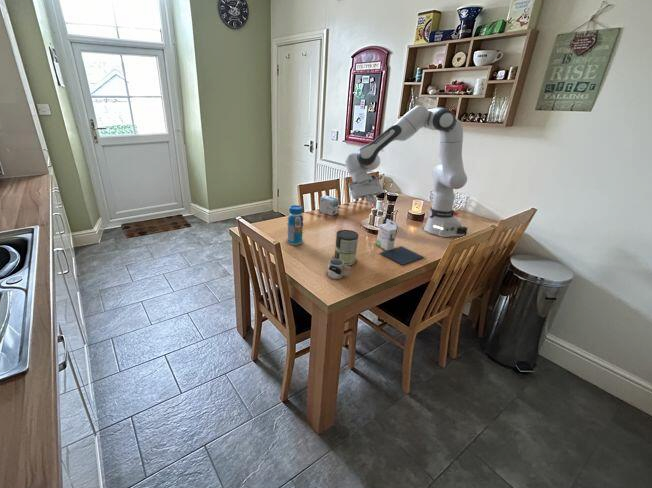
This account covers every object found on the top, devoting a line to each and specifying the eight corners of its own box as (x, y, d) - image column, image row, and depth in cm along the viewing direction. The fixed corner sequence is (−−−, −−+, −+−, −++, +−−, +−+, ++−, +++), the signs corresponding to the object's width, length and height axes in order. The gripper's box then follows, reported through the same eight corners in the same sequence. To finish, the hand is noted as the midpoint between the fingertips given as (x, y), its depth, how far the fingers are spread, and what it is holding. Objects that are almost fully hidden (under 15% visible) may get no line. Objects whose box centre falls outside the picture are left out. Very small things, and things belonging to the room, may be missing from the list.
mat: (380, 253, 167) (380, 253, 167) (401, 247, 175) (401, 246, 175) (402, 265, 156) (402, 264, 156) (423, 257, 164) (423, 257, 164)
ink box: (375, 244, 177) (379, 219, 171) (382, 243, 179) (386, 217, 173) (386, 251, 170) (390, 224, 164) (393, 249, 172) (398, 223, 166)
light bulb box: (337, 213, 221) (339, 198, 216) (331, 216, 216) (333, 200, 212) (325, 209, 227) (326, 194, 223) (319, 212, 223) (320, 196, 219)
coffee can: (329, 259, 160) (332, 233, 154) (342, 253, 166) (345, 227, 161) (347, 267, 153) (350, 240, 147) (359, 260, 160) (362, 234, 154)
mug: (326, 277, 145) (327, 264, 142) (329, 270, 150) (331, 257, 148) (348, 281, 141) (350, 268, 139) (351, 274, 147) (353, 261, 144)
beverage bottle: (284, 243, 175) (285, 208, 167) (290, 237, 183) (291, 203, 174) (299, 246, 173) (301, 210, 165) (304, 240, 180) (306, 205, 172)
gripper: (350, 180, 171) (361, 203, 168) (378, 175, 182) (389, 197, 178) (344, 186, 177) (354, 208, 173) (371, 182, 187) (382, 203, 183)
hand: (372, 203), depth 176 cm, fingers closed
